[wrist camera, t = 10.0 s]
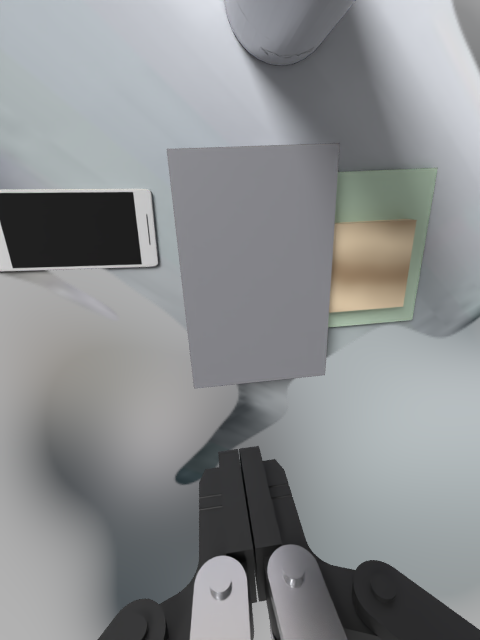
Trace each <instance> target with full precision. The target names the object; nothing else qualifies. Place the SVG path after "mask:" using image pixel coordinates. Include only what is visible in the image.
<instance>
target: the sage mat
mask: <svg viewBox="0 0 480 640" xmlns="http://www.w3.org/2000/svg"><path fill="white" fill-rule="evenodd" d="M437 169H438V168H421V169H397V170H374V171H350V172H338V178H337V194H336V210H335V223H340V222H358V221H376V220H394V219H414V220H417V221H416V228H415V234H414V240H413V247H412V253H411V260H410V266H409V272H408V279H407V285H406V291H405V298H404V304H403V307H392V308H380V309H368V310H356V311H344V312H332V313H329V320H328V327H339V326H351V325H362V324H373V323H384V322H396V321H407V320H412V317H413V312H414V306H415V300H416V294H417V288H418V282H419V276H420V270H421V264H422V258H423V252H424V246H425V240H426V234H427V228H428V222H429V216H430V210H431V204H432V198H433V193H434V187H435V181H436V175H437Z"/></svg>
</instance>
